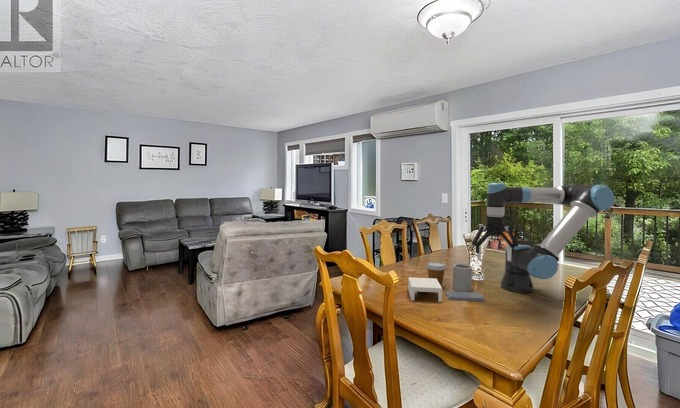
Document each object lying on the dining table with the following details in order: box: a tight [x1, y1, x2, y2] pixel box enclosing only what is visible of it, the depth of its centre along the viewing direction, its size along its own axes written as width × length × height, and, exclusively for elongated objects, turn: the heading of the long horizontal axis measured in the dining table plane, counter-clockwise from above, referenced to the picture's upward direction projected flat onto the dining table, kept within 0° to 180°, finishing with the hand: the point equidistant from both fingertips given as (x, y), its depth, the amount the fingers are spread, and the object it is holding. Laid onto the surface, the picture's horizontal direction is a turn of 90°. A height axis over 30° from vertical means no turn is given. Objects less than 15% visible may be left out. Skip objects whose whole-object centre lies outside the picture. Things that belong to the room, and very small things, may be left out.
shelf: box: [407, 276, 443, 303], centre depth 156 cm, size 14×15×6 cm
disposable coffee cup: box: [426, 261, 447, 288], centre depth 170 cm, size 10×10×12 cm
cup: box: [452, 263, 473, 292], centre depth 166 cm, size 9×9×12 cm
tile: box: [445, 290, 486, 303], centre depth 154 cm, size 16×8×2 cm, turn 84°
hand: (494, 260), depth 151 cm, fingers open, 13 cm apart
